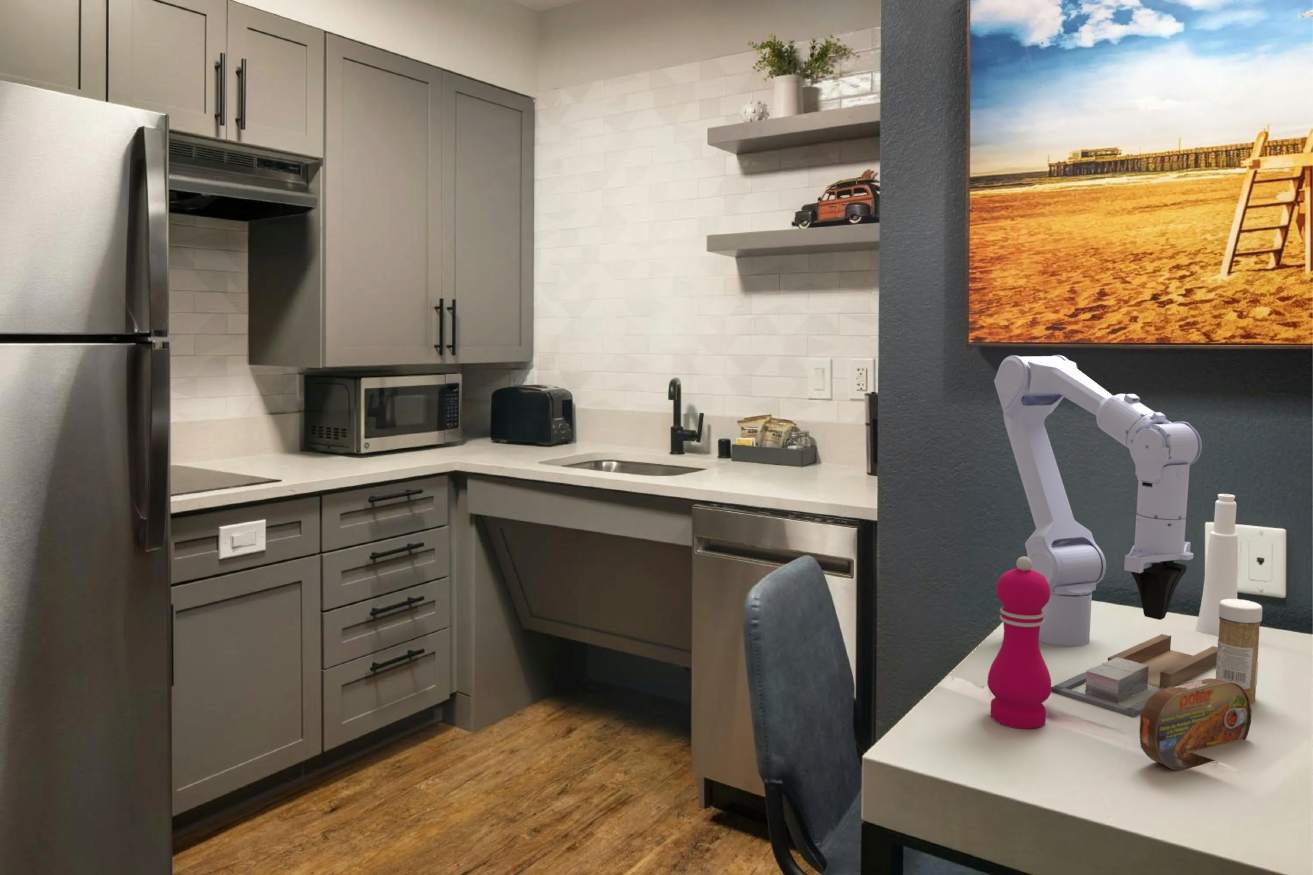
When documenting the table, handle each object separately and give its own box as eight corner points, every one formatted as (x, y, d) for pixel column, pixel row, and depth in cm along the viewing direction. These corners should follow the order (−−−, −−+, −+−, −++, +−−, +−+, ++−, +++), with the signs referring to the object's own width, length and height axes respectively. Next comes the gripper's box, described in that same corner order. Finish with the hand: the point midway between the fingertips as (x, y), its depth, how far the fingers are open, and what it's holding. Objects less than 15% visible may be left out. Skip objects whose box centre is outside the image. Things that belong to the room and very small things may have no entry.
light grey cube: (1084, 701, 119) (1086, 670, 118) (1100, 694, 121) (1102, 664, 121) (1116, 711, 116) (1118, 680, 115) (1132, 703, 118) (1134, 672, 118)
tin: (1156, 777, 100) (1161, 700, 99) (1131, 764, 103) (1135, 689, 102) (1252, 752, 106) (1257, 679, 105) (1225, 741, 109) (1230, 669, 108)
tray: (1049, 702, 120) (1050, 687, 120) (1097, 680, 128) (1098, 666, 127) (1133, 729, 112) (1134, 712, 112) (1179, 703, 120) (1180, 688, 119)
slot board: (1106, 683, 127) (1107, 657, 126) (1160, 657, 137) (1162, 633, 136) (1169, 701, 120) (1170, 674, 120) (1221, 673, 130) (1222, 648, 130)
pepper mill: (1048, 711, 117) (1055, 552, 115) (1051, 734, 110) (1059, 565, 108) (986, 703, 120) (992, 547, 117) (985, 726, 113) (992, 561, 111)
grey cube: (1100, 693, 122) (1101, 663, 121) (1115, 686, 124) (1117, 656, 124) (1131, 703, 118) (1133, 672, 118) (1147, 695, 121) (1148, 665, 120)
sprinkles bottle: (1262, 710, 118) (1269, 604, 116) (1244, 718, 115) (1251, 610, 114) (1223, 698, 121) (1230, 595, 120) (1205, 706, 119) (1211, 601, 117)
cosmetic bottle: (1230, 644, 142) (1240, 499, 140) (1187, 635, 147) (1196, 494, 144) (1246, 637, 146) (1256, 495, 143) (1204, 627, 151) (1213, 490, 148)
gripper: (1168, 527, 116) (1161, 635, 117) (1217, 513, 125) (1210, 613, 126) (1110, 518, 121) (1104, 621, 123) (1161, 505, 130) (1155, 602, 132)
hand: (1154, 617), depth 125 cm, fingers closed
